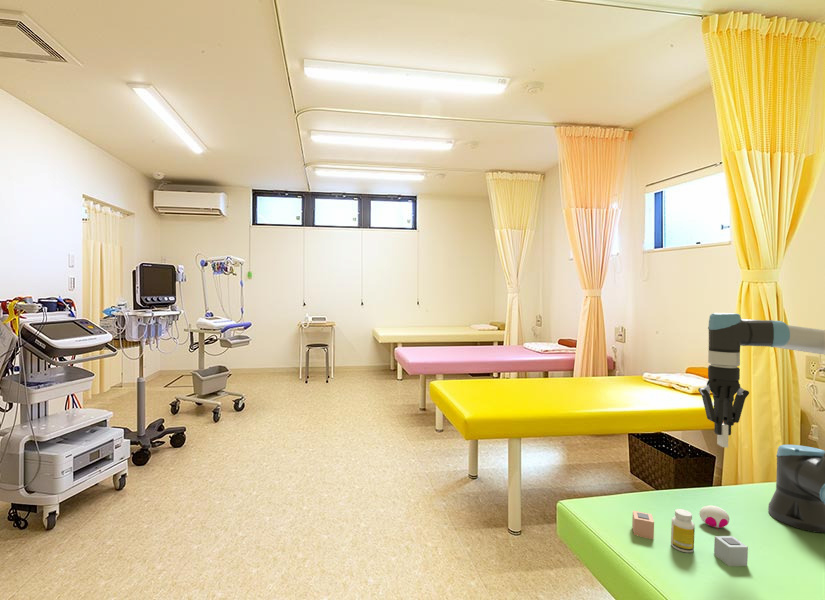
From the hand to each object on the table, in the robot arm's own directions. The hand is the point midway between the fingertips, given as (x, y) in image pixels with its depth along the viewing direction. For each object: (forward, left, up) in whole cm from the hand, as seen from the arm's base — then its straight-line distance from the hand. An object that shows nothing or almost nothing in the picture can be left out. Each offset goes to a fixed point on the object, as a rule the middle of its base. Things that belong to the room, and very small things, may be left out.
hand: (722, 445), depth 125 cm
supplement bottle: (+15, +10, -26) cm, 32 cm away
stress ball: (-1, -4, -26) cm, 26 cm away
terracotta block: (+23, +4, -26) cm, 35 cm away
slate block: (+5, +14, -26) cm, 30 cm away
